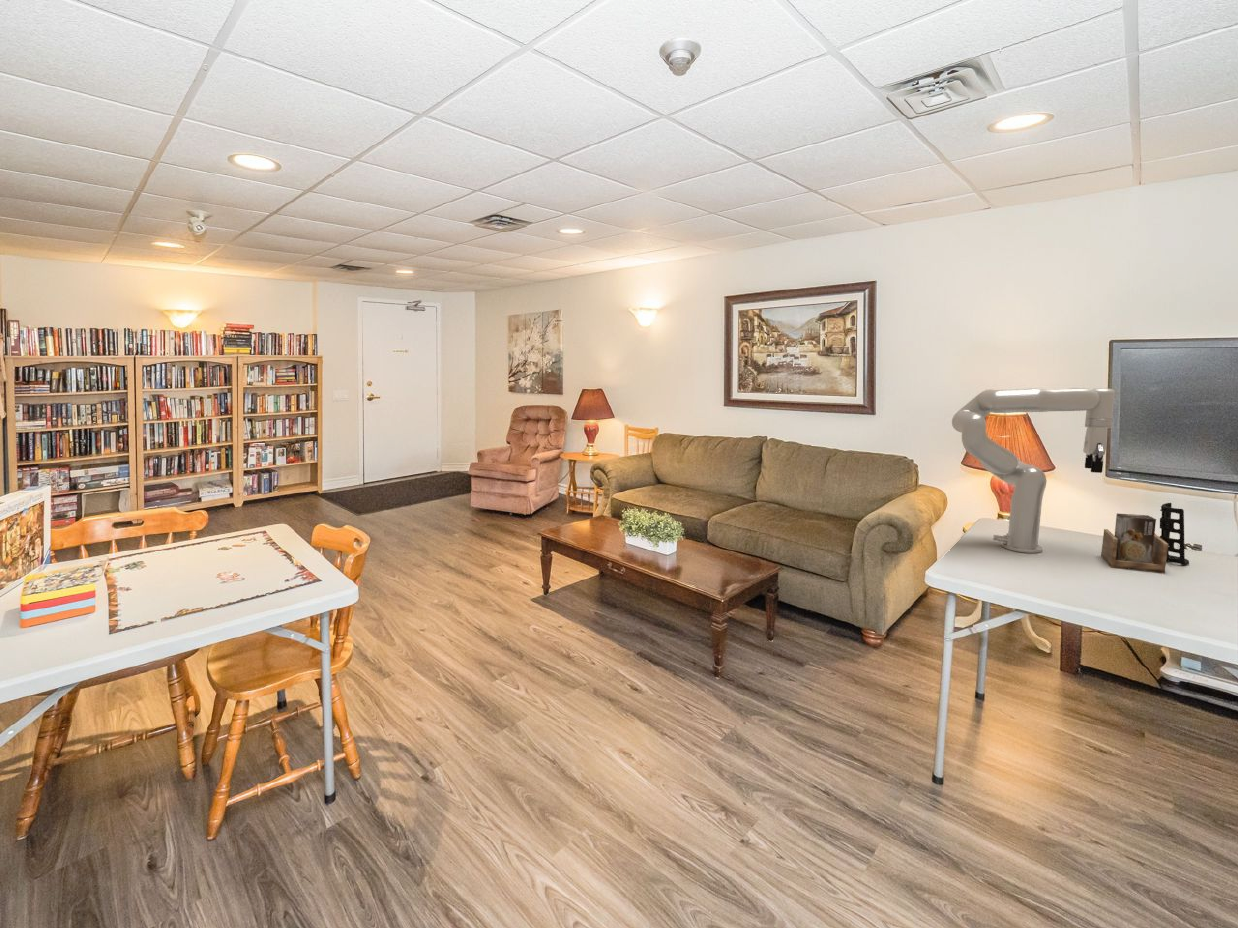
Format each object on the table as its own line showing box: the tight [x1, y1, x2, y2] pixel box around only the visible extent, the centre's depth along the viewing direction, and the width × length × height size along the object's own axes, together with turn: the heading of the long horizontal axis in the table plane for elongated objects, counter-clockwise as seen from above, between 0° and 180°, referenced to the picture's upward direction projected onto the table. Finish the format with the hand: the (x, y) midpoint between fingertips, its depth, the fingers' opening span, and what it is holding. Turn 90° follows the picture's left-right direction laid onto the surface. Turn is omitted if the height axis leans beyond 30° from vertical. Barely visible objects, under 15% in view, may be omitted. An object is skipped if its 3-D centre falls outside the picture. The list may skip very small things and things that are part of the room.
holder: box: [1159, 502, 1190, 567], centre depth 209 cm, size 11×8×20 cm
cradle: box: [1100, 528, 1168, 574], centre depth 207 cm, size 14×14×10 cm
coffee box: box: [1114, 513, 1157, 564], centre depth 206 cm, size 9×6×16 cm
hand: (1093, 470), depth 218 cm, fingers open, 9 cm apart
